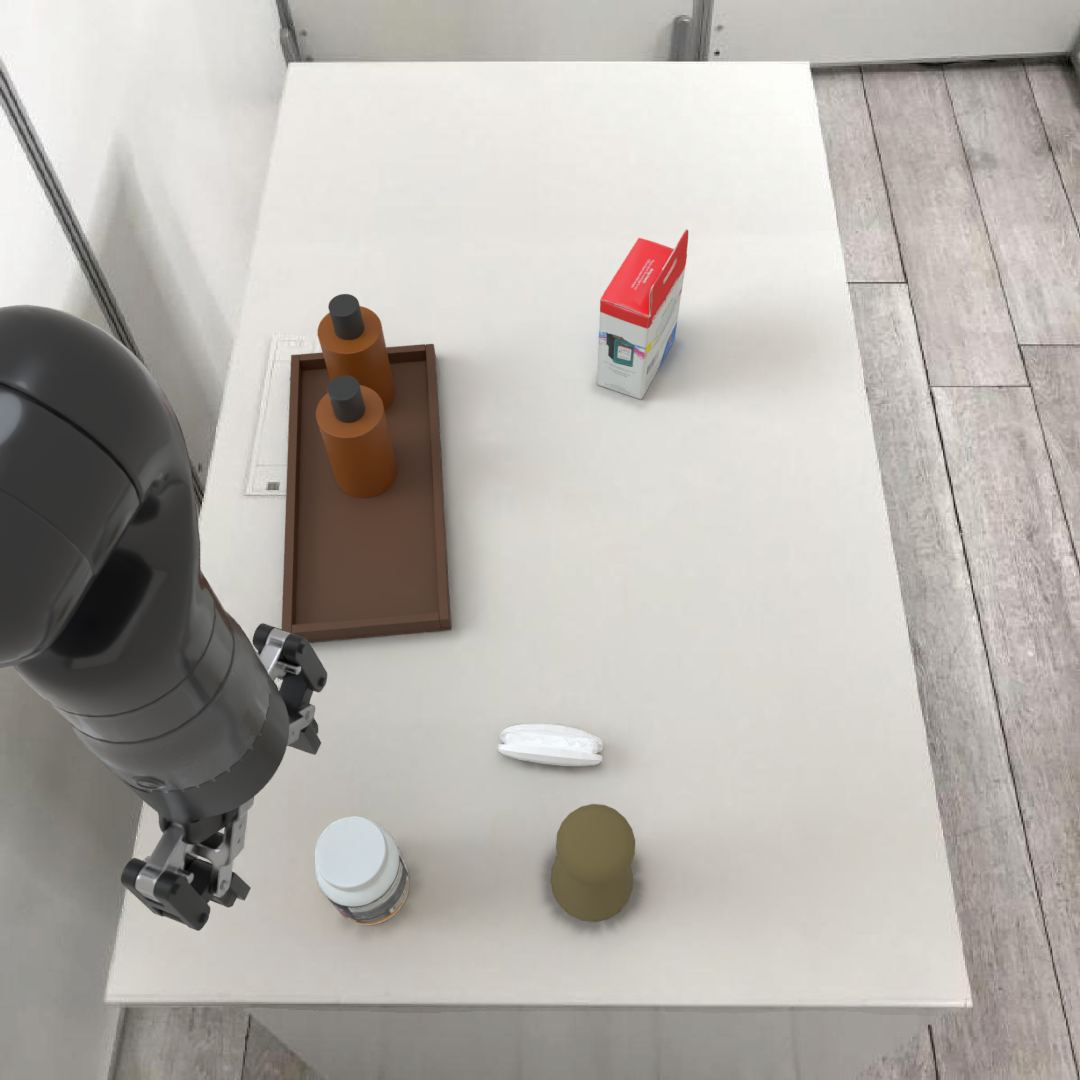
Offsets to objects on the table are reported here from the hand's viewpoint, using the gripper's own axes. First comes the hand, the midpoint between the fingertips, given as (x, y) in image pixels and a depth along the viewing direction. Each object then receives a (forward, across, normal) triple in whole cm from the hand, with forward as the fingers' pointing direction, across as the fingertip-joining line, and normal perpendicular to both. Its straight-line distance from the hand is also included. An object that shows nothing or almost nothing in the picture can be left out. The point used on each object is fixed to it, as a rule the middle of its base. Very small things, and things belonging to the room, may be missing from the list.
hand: (268, 814), depth 59 cm
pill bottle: (+22, -2, +2) cm, 22 cm away
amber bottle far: (+21, -43, -18) cm, 51 cm away
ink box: (+22, -55, +5) cm, 60 cm away
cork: (+22, -8, +17) cm, 28 cm away
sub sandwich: (+22, -16, +11) cm, 29 cm away
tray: (+21, -34, -13) cm, 42 cm away
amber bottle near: (+21, -35, -14) cm, 43 cm away
